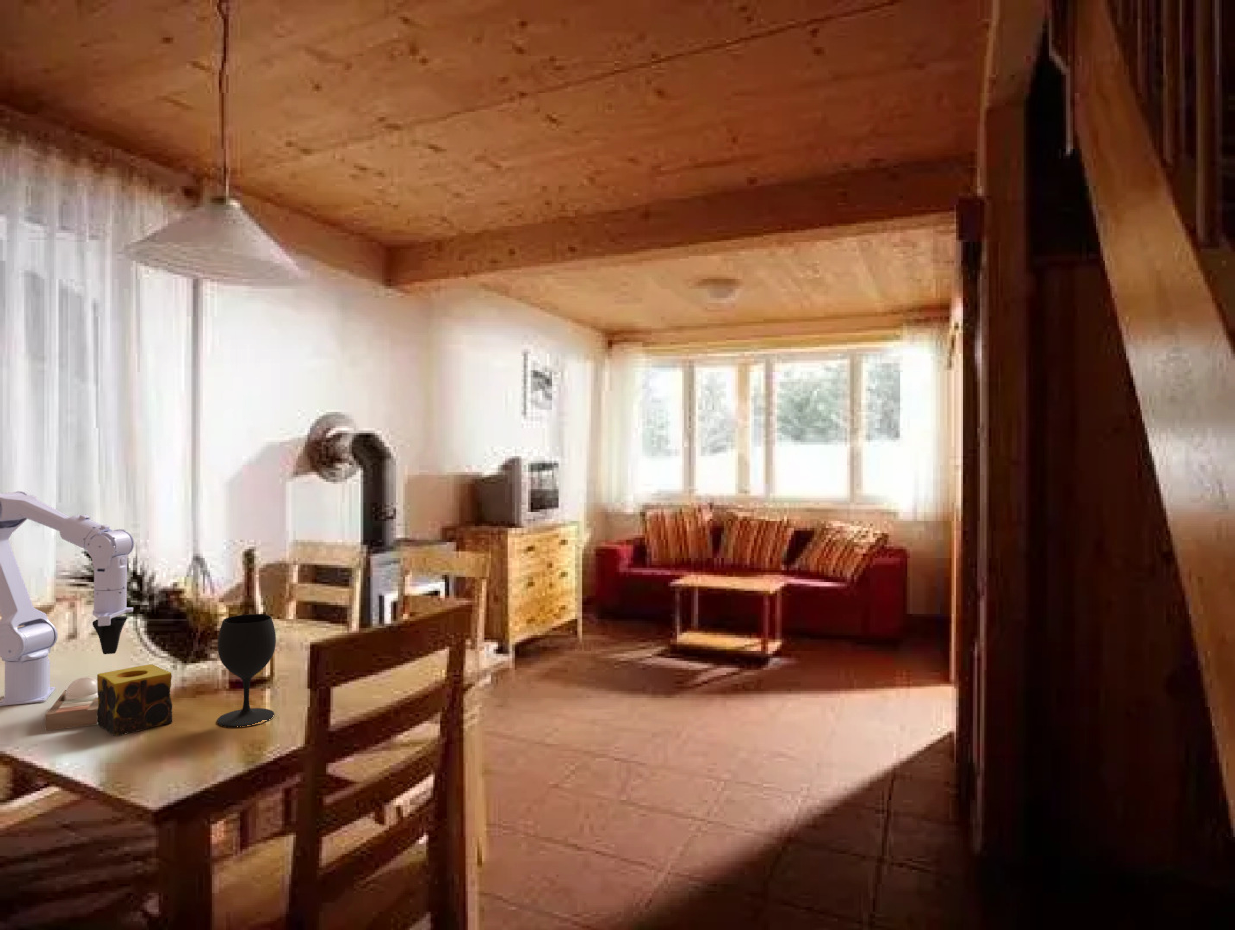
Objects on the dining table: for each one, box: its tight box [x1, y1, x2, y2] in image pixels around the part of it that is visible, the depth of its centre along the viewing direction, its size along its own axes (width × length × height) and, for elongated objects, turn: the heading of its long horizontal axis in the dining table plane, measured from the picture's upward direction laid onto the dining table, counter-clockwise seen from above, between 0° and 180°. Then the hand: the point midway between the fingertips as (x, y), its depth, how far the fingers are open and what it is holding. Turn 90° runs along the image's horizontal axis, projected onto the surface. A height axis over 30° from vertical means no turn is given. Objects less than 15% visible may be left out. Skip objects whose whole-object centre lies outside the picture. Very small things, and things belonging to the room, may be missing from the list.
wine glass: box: [216, 613, 277, 728], centre depth 150 cm, size 10×10×20 cm
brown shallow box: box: [44, 689, 98, 731], centre depth 151 cm, size 16×8×3 cm, turn 26°
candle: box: [96, 663, 173, 737], centre depth 147 cm, size 10×10×10 cm
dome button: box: [65, 676, 98, 700], centre depth 154 cm, size 6×6×6 cm
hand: (109, 653), depth 158 cm, fingers closed
